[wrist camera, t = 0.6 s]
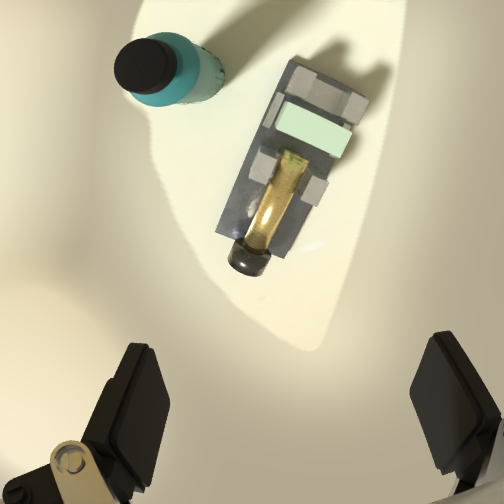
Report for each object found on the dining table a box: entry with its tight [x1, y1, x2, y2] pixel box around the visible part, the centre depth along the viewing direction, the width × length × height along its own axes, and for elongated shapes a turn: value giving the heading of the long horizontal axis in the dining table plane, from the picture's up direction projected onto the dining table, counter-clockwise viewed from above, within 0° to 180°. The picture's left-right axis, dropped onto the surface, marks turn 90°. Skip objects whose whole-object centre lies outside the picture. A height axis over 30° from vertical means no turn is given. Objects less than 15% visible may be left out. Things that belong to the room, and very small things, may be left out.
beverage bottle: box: [114, 32, 225, 107], centre depth 26 cm, size 6×7×20 cm
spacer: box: [274, 101, 352, 158], centre depth 32 cm, size 3×7×7 cm, turn 67°
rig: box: [215, 60, 369, 259], centre depth 36 cm, size 24×10×7 cm, turn 157°
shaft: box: [228, 149, 309, 277], centre depth 37 cm, size 15×5×5 cm, turn 157°
